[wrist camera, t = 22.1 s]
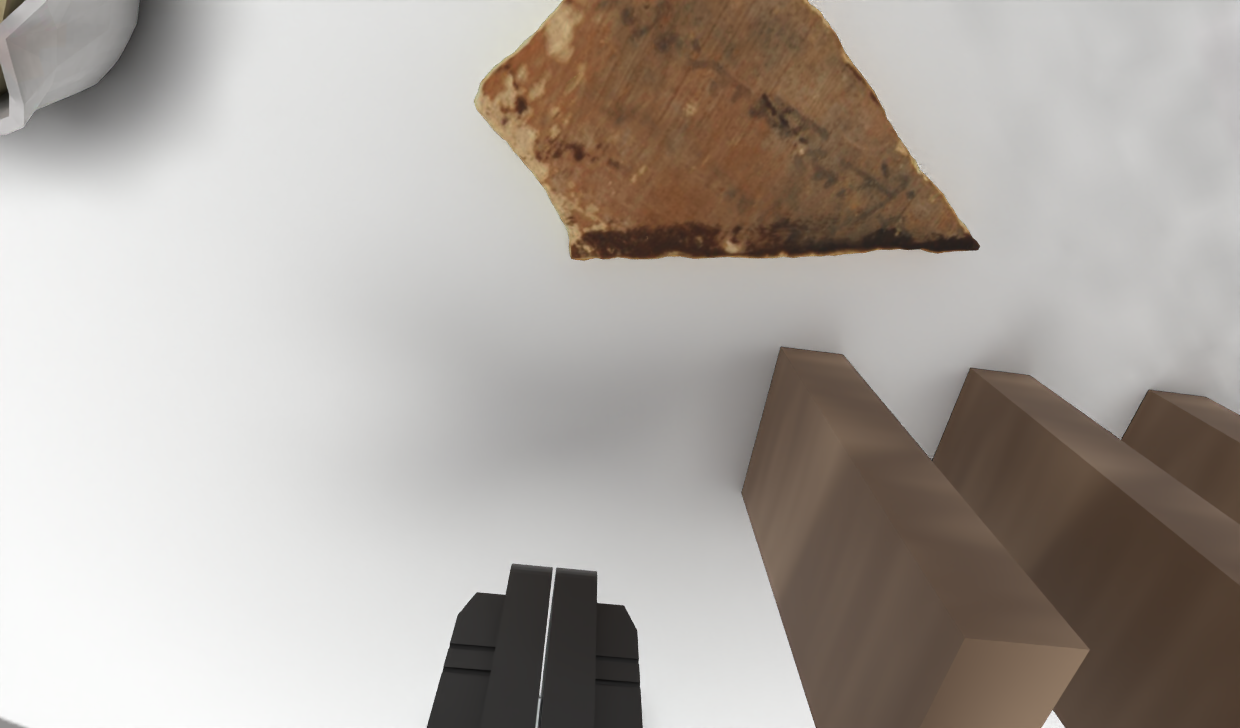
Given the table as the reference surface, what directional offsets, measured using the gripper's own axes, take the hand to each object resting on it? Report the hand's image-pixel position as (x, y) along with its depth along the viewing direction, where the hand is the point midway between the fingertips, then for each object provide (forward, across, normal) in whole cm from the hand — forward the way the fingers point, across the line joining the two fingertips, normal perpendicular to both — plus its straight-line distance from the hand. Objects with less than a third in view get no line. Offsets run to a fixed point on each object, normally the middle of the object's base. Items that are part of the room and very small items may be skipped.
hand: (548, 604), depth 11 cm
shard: (+8, -3, -9) cm, 13 cm away
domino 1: (+8, -6, 0) cm, 10 cm away
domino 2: (+8, -12, 0) cm, 14 cm away
